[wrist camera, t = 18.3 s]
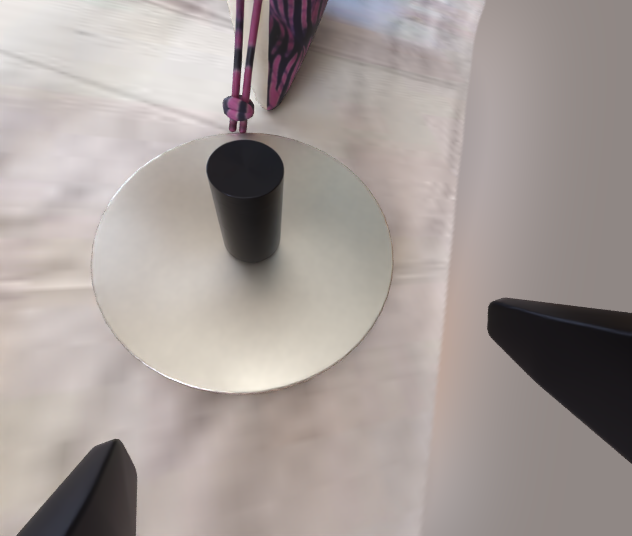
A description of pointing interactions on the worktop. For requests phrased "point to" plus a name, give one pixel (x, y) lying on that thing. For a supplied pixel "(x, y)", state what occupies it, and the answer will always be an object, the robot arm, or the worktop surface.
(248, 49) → the pouch
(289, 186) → the tin lid
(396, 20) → the worktop surface
